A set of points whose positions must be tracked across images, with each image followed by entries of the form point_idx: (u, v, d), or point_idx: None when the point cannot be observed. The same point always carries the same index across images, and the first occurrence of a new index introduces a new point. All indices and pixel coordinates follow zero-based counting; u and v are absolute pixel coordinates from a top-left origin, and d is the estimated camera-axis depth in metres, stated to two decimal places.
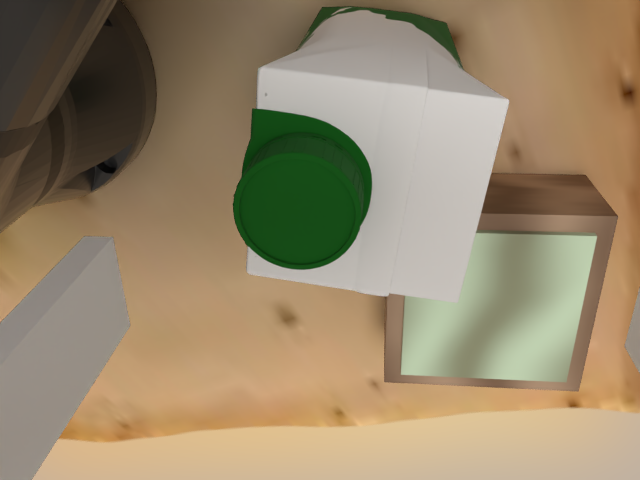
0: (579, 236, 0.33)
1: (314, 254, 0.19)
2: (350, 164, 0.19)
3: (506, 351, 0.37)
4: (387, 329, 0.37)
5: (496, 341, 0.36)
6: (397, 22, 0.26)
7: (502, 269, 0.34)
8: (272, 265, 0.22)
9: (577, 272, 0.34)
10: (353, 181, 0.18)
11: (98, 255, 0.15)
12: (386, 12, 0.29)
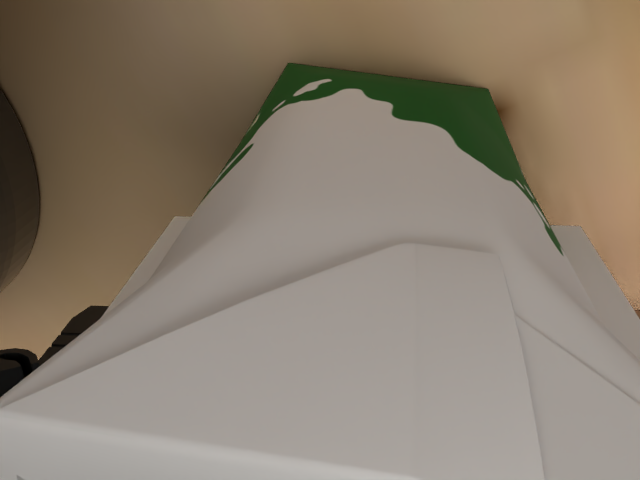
0: None
1: None
2: None
3: None
4: None
5: None
6: (416, 130, 0.13)
7: None
8: None
9: None
10: None
11: None
12: (393, 93, 0.15)
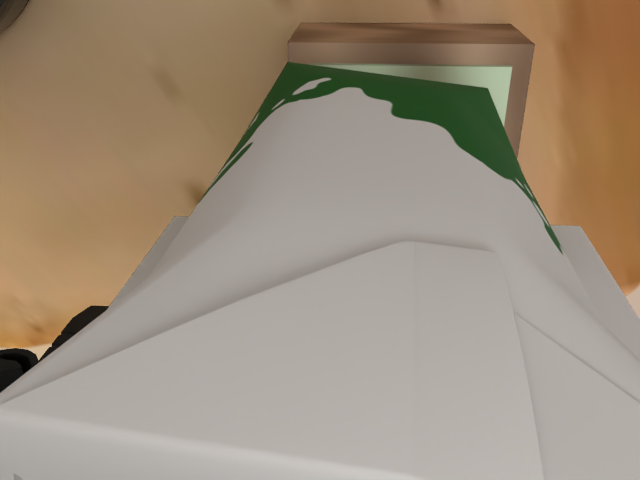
0: (493, 67, 0.30)
1: None
2: None
3: None
4: None
5: None
6: (416, 128, 0.13)
7: None
8: None
9: None
10: None
11: None
12: (392, 92, 0.15)
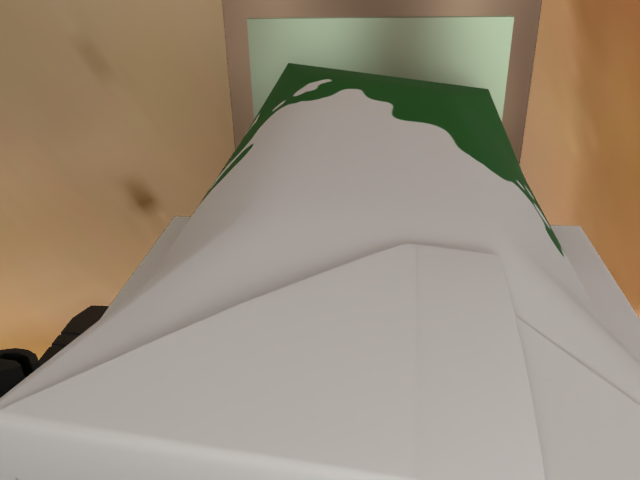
0: (488, 18, 0.23)
1: None
2: None
3: None
4: None
5: None
6: (417, 130, 0.13)
7: None
8: None
9: (489, 79, 0.24)
10: None
11: None
12: (393, 94, 0.15)
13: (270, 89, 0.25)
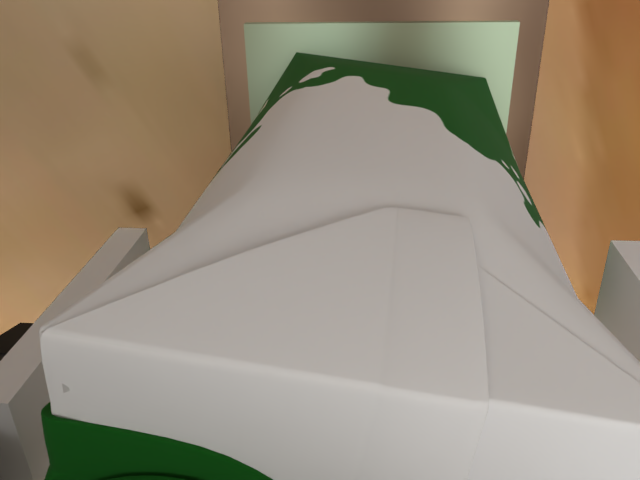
0: (493, 23, 0.22)
1: None
2: None
3: None
4: None
5: None
6: (409, 113, 0.14)
7: None
8: None
9: (494, 86, 0.23)
10: None
11: (134, 245, 0.15)
12: (391, 80, 0.17)
13: (268, 96, 0.24)
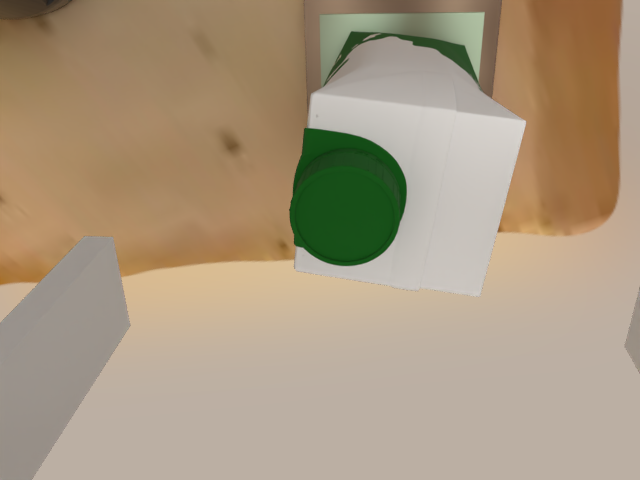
0: (469, 13, 0.37)
1: (358, 252, 0.22)
2: (389, 175, 0.22)
3: None
4: None
5: None
6: (424, 49, 0.29)
7: None
8: (317, 263, 0.25)
9: (470, 51, 0.38)
10: (393, 190, 0.21)
11: (98, 255, 0.15)
12: (412, 38, 0.32)
13: (332, 59, 0.39)
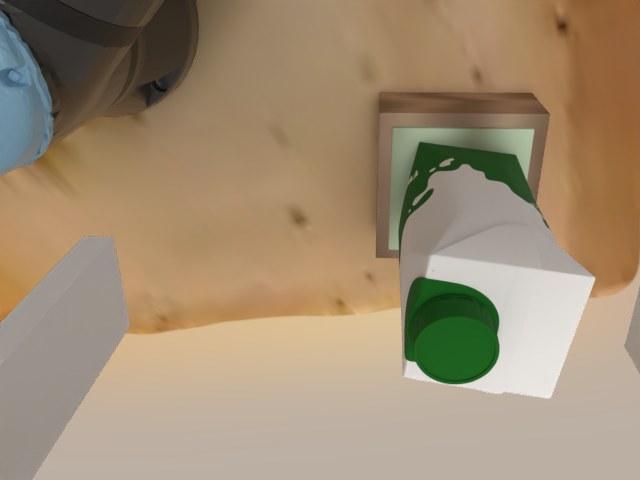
0: (521, 129, 0.43)
1: (464, 375, 0.29)
2: (489, 317, 0.29)
3: None
4: (377, 211, 0.48)
5: None
6: (496, 185, 0.36)
7: None
8: (423, 372, 0.32)
9: (521, 159, 0.44)
10: (495, 332, 0.28)
11: (98, 255, 0.15)
12: (482, 166, 0.39)
13: (401, 163, 0.46)
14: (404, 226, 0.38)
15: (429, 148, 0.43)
